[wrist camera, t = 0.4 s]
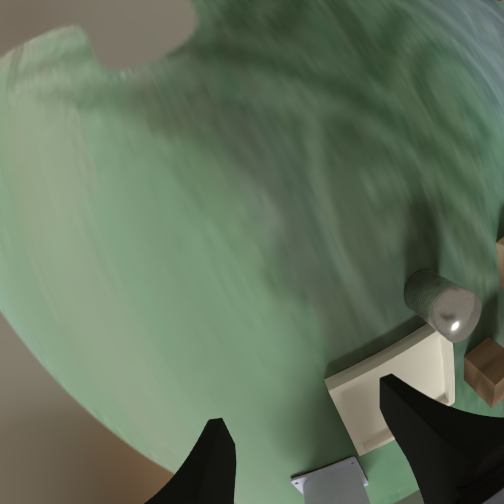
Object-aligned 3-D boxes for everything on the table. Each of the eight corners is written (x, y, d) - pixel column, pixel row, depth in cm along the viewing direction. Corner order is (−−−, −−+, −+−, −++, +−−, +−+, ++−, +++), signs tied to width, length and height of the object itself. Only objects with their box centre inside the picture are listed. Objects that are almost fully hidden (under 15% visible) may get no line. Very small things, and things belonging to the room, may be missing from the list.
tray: (448, 394, 24) (454, 402, 22) (355, 446, 25) (359, 456, 23) (440, 314, 21) (450, 321, 20) (323, 379, 22) (328, 390, 21)
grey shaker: (440, 297, 21) (482, 325, 15) (408, 317, 21) (446, 352, 16) (433, 261, 20) (479, 284, 14) (399, 281, 21) (442, 311, 15)
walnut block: (487, 360, 23) (516, 385, 18) (464, 379, 24) (491, 408, 18) (488, 336, 23) (520, 361, 17) (463, 356, 23) (495, 385, 17)
